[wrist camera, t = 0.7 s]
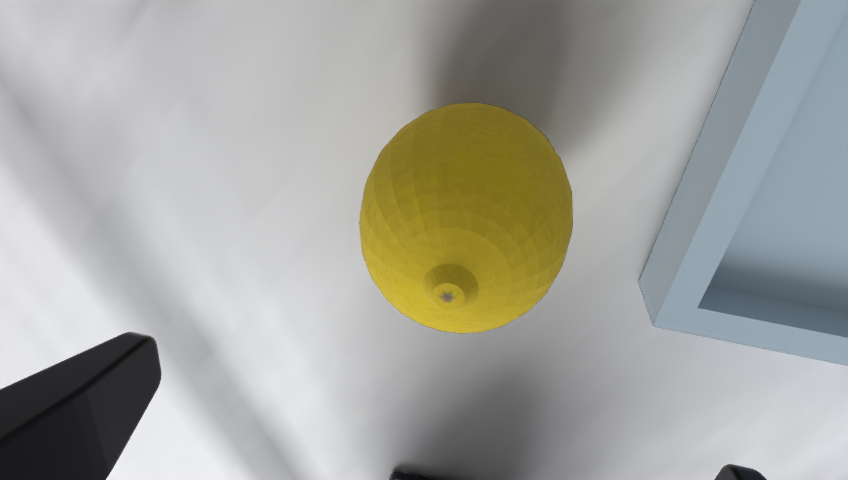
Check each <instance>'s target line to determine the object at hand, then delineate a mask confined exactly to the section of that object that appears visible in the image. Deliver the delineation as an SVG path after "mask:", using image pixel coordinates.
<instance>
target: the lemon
mask: <svg viewBox="0 0 848 480" xmlns="http://www.w3.org/2000/svg"><path fill="white" fill-rule="evenodd" d="M359 224H360V236H361V245H362V253H363V257H364V260H365V262H366V265H367V267H368V270H369V272H370V275H371V277H372V279H373V281H374V282H375V284H376V285H377V286H378V288H379V289H380V291H381V292H382V293H383V295H384V296H385V298H386V299H387V300H388V301H389V302H390V303H391V304H392V305H393V306H394V307H396V308H397V309H398V310H399V311H400V312H401V313H402V314H404V315H406V316H407V317H409V318H411V319H413V320H414V321H416V322H418V323H420V324H422V325H425V326H428V327H431V328H434V329H437V330H440V331H447V332H454V333H474V332H484V331H487V330H491V329H494V328H498V327H501V326H504V325H506V324H507V323H509V322H511V321H513V320H515V319H516V318H518V317H520V316H522V315H524V314H525V313H527V312H528V311H529V310H530V309H531V308H532V307H533V306H534V305H535V304H536V303H537V302H538V301H539V300H540V299H542V297H543V296H544V295H545V294H546V293H547V291H548V289H549V288H550V286H551V284H552V283H553V281H554V280H555V278H556V276H557V275H558V273H559V271H560V269H561V267H562V265H563V262H564V259H565V255H566V252H567V248H568V244H569V241H570V237H571V233H572V227H573V211H572V191H571V187H570V184H569V181H568V178H567V175H566V172H565V169H564V166H563V163H562V161H561V159H560V157H559V156H558V154H557V153H556V151H555V150H554V148H553V147H552V145H551V144H550V142H549V141H548V139H547V138H546V137H545V136H544V134H542V133H541V132H540V131H539V130H538V129H537V128H535V127H534V126H533V125H532V124H531V123H530V122H528V121H527V120H526V119H525V118H523V117H521V116H519V115H517V114H514V113H512V112H510V111H508V110H506V109H504V108H502V107H497V106H492V105H487V104H482V103H459V104H450V105H447V106H444V107H440V108H437V109H434V110H431V111H428V112H426V113H424V114H423V115H421V116H420V117H418V118H417V119H415V120H413V121H412V122H410V123H409V124H407V125H406V126H404V127H403V128H402V129H401V130H400V131H399V132H398V133H397V134H396V135H395V136H394V137H393V138H392V139H391V141H390V142H389V143H388V144H387V145H386V146H385V147H384V148H383V150H382V151H381V152H380V154H379V156H378V158H377V160H376V162H375V165H374V167H373V169H372V171H371V173H370V175H369V177H368V179H367V182H366V185H365V189H364V195H363V201H362V206H361V212H360V222H359Z"/></svg>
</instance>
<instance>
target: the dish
mask: <svg viewBox="0 0 848 480" xmlns="http://www.w3.org/2000/svg"><path fill="white" fill-rule="evenodd" d="M638 283H639V286H640V289H641V292H642V295H643V298H644V301H645V304H646V307H647V310H648V313H649V316H650V319H651V322H652V325H653V326H654V327H659V328H664V329H669V330H674V331H679V332H684V333H689V334H694V335H699V336H704V337H708V338H713V339H718V340H723V341H728V342H733V343H738V344H743V345H748V346H753V347H758V348H763V349H768V350H773V351H778V352H782V353H787V354H792V355H797V356H802V357H807V358H812V359H817V360H822V361H827V362H832V363H837V364H842V365H847V366H848V0H755V2H754V5H753V7H752V9H751V12H750V14H749V17H748V19H747V21H746V24H745V26H744V29H743V31H742V33H741V36H740V38H739V41H738V43H737V46H736V48H735V50H734V53H733V55H732V58H731V60H730V62H729V65H728V67H727V70H726V72H725V74H724V77H723V79H722V82H721V84H720V87H719V89H718V91H717V94H716V96H715V99H714V101H713V103H712V106H711V108H710V111H709V113H708V115H707V118H706V120H705V123H704V125H703V128H702V130H701V132H700V135H699V137H698V140H697V142H696V144H695V147H694V149H693V152H692V154H691V156H690V159H689V161H688V164H687V166H686V169H685V171H684V173H683V176H682V178H681V181H680V183H679V185H678V188H677V190H676V193H675V195H674V197H673V200H672V202H671V205H670V207H669V210H668V212H667V214H666V217H665V219H664V222H663V224H662V226H661V229H660V231H659V234H658V236H657V239H656V241H655V243H654V246H653V248H652V251H651V253H650V255H649V258H648V260H647V263H646V265H645V267H644V270H643V272H642V275H641V277H640V280H639V282H638Z"/></svg>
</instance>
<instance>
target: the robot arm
mask: <svg viewBox="0 0 848 480" xmlns="http://www.w3.org/2000/svg"><path fill="white" fill-rule="evenodd" d="M160 381H161V367H160V361H159V355H158V349H157V343H156V341H155V339H154V338H153V337H151V336H148V335H143V334H139V333H134V332H127V333H124V334H121V335H119V336H117V337H115V338H113V339H110V340H108V341H106V342H104V343H102V344H99V345H97V346H95V347H93V348H91V349H88V350H86V351H84V352H82V353H79V354H77V355H75V356H73V357H71V358H68V359H66V360H64V361H62V362H60V363H57V364H55V365H53V366H51V367H49V368H46V369H44V370H42V371H40V372H38V373H35V374H33V375H31V376H29V377H27V378H24V379H22V380H20V381H18V382H16V383H13V384H11V385H9V386H7V387H5V388H2V389H0V480H106V478H107V477H108V475H109V474H110V472H111V471H112V469H113V467H114V465H115V464H116V462H117V460H118V459H119V457H120V455H121V453H122V452H123V450H124V448H125V446H126V444H127V443H128V441H129V439H130V437H131V435H132V434H133V432H134V430H135V428H136V426H137V425H138V423H139V421H140V419H141V417H142V416H143V414H144V412H145V410H146V409H147V407H148V405H149V403H150V401H151V400H152V398H153V396H154V394H155V392H156V391H157V389H158V387H159V384H160ZM389 480H431V479H426V478H422V477H418V476H413V475H409V474H405V473H400V472H395V473H392V474H391V476H390V479H389ZM715 480H767V479H766V478H765V477H764V476H763V475H762V474H760V473H759V472H758V471H756V470H754V469H751V468H746V467H742V466H737V465H733V464H728V465H726V466H724V467H723V468H722V469H721V471H720V472H719V474H718V475H717V477H716V478H715Z"/></svg>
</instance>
